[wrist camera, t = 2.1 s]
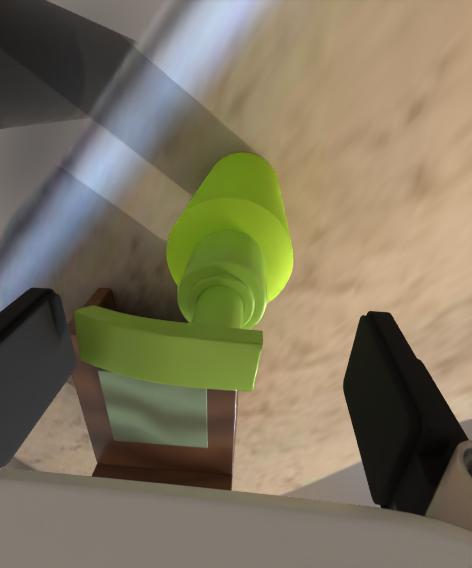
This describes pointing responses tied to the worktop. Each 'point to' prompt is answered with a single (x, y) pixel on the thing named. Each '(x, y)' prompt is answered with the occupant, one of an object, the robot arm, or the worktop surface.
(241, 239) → the soap dispenser
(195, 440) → the wooden picture frame
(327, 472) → the worktop surface
